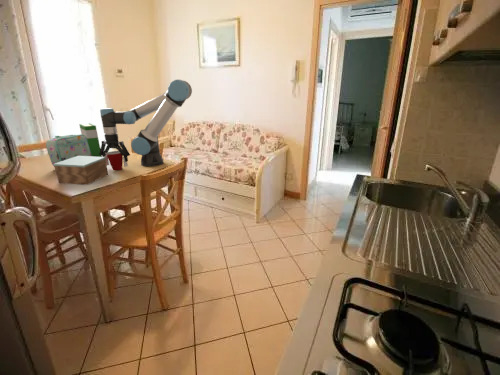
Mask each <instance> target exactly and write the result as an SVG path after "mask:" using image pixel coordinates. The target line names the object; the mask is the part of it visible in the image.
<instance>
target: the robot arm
mask: <svg viewBox="0 0 500 375" xmlns="http://www.w3.org/2000/svg"><path fill="white" fill-rule="evenodd" d="M192 93H193V89H192V86H191V84H190V83H189V82H187V81H186V80H184V79H183V80H182V79H174V80H172V81H171V82H170V83H169V85H168V87H167V90H166V91H165V92H163V93H162V94H159V95H157V96H155V97H154V98H151V99H150V100H147V101H145V102H144V103H142V104H140V105H137V106H135V107H134V108H131V109H130V110H125V111H115V109H114V108H111V107H103V108H100V111H99V112H100V118H101V123H102V128H103V133H104V139H105V140H102V141H101V146H100V153H99V155H102V156H101V157H106V159H105V160H106V165H107V166H109V165H110V162H109V159H108V157H107V155H106V154H105V153H107V152H110V149H116V151H119V152H120V153H121V154H122V155H123V167H124V168H127V167H128V166H129V165H128V162H129V158H128V157H129V156H131V154H130V151H129V150H128V149H127V147H126V146H125V141H123V140H122V141H121V140H120V141H119V134H118V128H117V127H118V126H117V125H134V124H135V123H136V122H137V121H139V120H141V119H142V118H145V117H146V116H149V115H150V114H152V113H154V115H153V116H152V118H151V119H150V120H149V122H148V124H147V125H146V127H145V128H144V129H140V131H139V132H138V135H137V136H136V137H134V138H133V139H132V140H131V142H130V145H131V149H132V151H133V152H134V153H135V154H137V155H139V156H141V159H140V164H141V166H143V167H156V166H161V165H163V164H164V159H163V156H162V154H161V152H160V145H159V144H160V142H159V135H160V133H161V132H162V131H163V129H164V128H165V126H166V125H167V123H168V122H169V121H170V119H171V117H172V116H173V115H174V113H175V112H176V110H177V109H178V108H181V107H182V106H183V105H184V103H185V102H186V101H187V100H188V99H189V98H190V97H191V96H192Z"/></svg>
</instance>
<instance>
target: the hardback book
mask: <svg viewBox="0 0 500 375" xmlns="http://www.w3.org/2000/svg"><path fill="white" fill-rule="evenodd" d="M79 128H80V134H82V135H85V136H86V138H87V140H88V144H89V148H90V151H91V156H95V157H103V156H102V155H99V153H100V149H101V146H100V140H99V136H98V130H97V125H95V124H93V123H90V122H89V123H88V124H81V123H79Z"/></svg>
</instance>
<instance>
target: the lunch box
mask: <svg viewBox="0 0 500 375" xmlns="http://www.w3.org/2000/svg"><path fill="white" fill-rule="evenodd" d="M45 147H46V151H47V153H48V156H49V160H50V162H51V165H52V166H53V164H55V163H58V162H61V161H64V160H67V159H70V158H73V157H76V156H91V151H90V148H89V144H88V140H87V138H86V136H85V135H82V134H81V133H80V134H67V135H62V136H61V135H55V136H54V137H51V138H49V139H48V140H46V142H45Z"/></svg>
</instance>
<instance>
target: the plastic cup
mask: <svg viewBox="0 0 500 375" xmlns="http://www.w3.org/2000/svg"><path fill="white" fill-rule="evenodd" d="M105 154H106V155H107V157H108V161H109V165H110V166H111V169H112V171H121V170H122V169H123V165H124V162H123V157H124V156H123V155H122V154H121V153H120V152H119V151H118V150H113V151H108V152H107V153H105Z"/></svg>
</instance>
